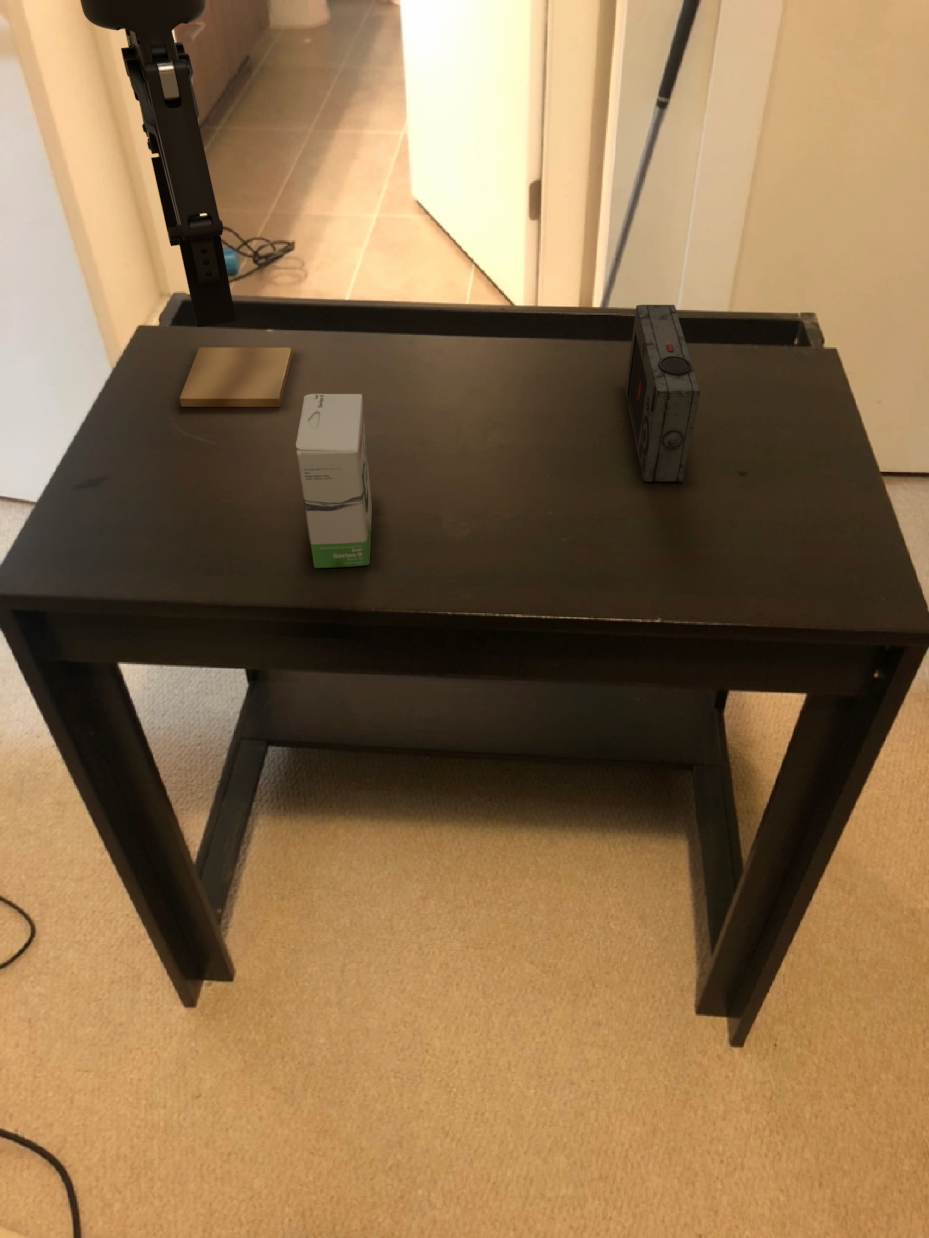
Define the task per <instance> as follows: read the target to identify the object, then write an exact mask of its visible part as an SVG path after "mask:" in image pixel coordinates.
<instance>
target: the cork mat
mask: <svg viewBox="0 0 929 1238" xmlns="http://www.w3.org/2000/svg"><path fill="white" fill-rule="evenodd" d="M292 348H293V347H228V346H227V347H220V346H219V347H218V346H217V347H211V346H210V347H209V346H207V347H206V346H204V347H202V346H201V347H200V346H199V347H198V348H197V349H198V350H197V352H196V354H195V357H194V360H193V362H192V365H191V368H190V370H189V372H188V375H187V378H186V381H185V383H184V386H183V389H182V390H181V394H180V396H179V403H180V407H182V408H186V407H187V408H188V407H189V408H193V407H194V408H218V407H219V408H280V407H281V404H282V400H283V396H284V392H285V389H286V384H287V380H288V376H289V372H290V368H291V363H292V359H293V349H292Z"/></svg>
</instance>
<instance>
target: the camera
mask: <svg viewBox="0 0 929 1238" xmlns="http://www.w3.org/2000/svg"><path fill="white" fill-rule="evenodd" d="M634 313H635V314H634V320H633V321H634V322H633V329H632V335H631V342H630V351H629V359H628V367H627V375H626V380H625V381H626V382H625V389H624V393H625V397H626V403H627V408H628V412H629V417H630V423H631V426H632V427H631V428H632V433H633V437H634V442H635V448H636V452H637V458H638V462H639V467H640V472H641V477H642V482H644V483H645V482H646V483H683V482H684V478H685V474H686V473H685V472H686V469H687V468H686V467H687V461H688V457H689V452H690V447H691V441H692V437H693V433H694V432H693V431H694V428H695V427H694V426H695V423H696V422H695V421H696V416H697V410H698V405H699V401H700V397H701V396H700V395H701V390H700V387H699V386H700V385H699V384H698V382H699V381H698V379H697V376H696V373H695V370H694V369H695V368H694V366H693V362H692V358H691V356H690V353H689V352H690V351H689V348H688V346H687V343H686V339H685V335H684V332H683V329H682V326H681V321H680V319H679V315H678V312H677V308H676V305H675V304H638V305H636V306H635V312H634Z"/></svg>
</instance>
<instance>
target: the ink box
mask: <svg viewBox="0 0 929 1238" xmlns="http://www.w3.org/2000/svg"><path fill="white" fill-rule="evenodd" d="M363 404H364V403H363V394H362V393H308V394H306V395H304V396H303V401H302V408H301V413H300V419H299V424H298V430H297V436H296V440H295V448H296V459H297V464H298V471H299V477H300V484H301V491H302V497H303V504H304V511H305V517H306V524H307V531H308V538H309V544H310V545H309V546H310V550H311V556H312V563H313V567H314V568H315V569H327V568H328V569H329V568H347V567H348V568H349V567H362V566H363V567H364V566H369V565H370V562H371V560H370V559H371V541H372V538H371V537H372V519H373V518H372V515H373V509H372V508H373V503H372V493H371V479H370V470H369V461H368V459H369V458H368V449H367V448H368V447H367V438H366V437H367V436H366V425H365V415H364V405H363Z"/></svg>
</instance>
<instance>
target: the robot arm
mask: <svg viewBox="0 0 929 1238" xmlns="http://www.w3.org/2000/svg"><path fill="white" fill-rule="evenodd" d="M79 1H80V4H81V9H82V13H83V15H84V16H85V18H86V19H87V21H89V22H90V23H91V24H93V25H95V26H96V27H99V28H102V29H106V30H111V31H120V30H124V31H125V32H124V33H125V37H126V41H127V47H126V46H125V47H120V52H121V55H122V61H123V64H124V69H125V72H126V75H127V77H128V78H129V82H130V86H131V89H132V91H133V92H132V93H133V95H134V99H135V100H136V101H137V102H138V103H139V107H140V114H141V117H142V124H141V127H142V131H143V133H145V136H146V137H147V140H146V141H147V142H146V144H147V149H148V150H149V151H150V153H151V155H157V156H154V157H153V156H152V157H150V161H151V165H152V169H153V174H154V178H155V184H156V188H157V192H158V197H159V201H160V205H161V209H162V214H163V219H164V223H165V228H166V232H167V237H168V241H169V242H168V243H169V245H170V247H176V246H179V250H180V254H181V259H182V264H183V268H184V273H185V278H186V283H187V287H188V292H189V296H190V301H191V305H192V310H193V315H194V319H195V320H194V321H195V325H196V327H197V328H201V327H202V328H203V327H209V326H213V325H219V324H225V323H232V322H236V321H237V319H236V313H235V308H234V302H233V297H232V292H231V286H230V280H229V275H228V270H227V263H226V257H225V253H224V247H223V242H222V237H221V236H223V233H224V224H223V221H222V220H221V219H220V214H219V210H218V206H217V201H216V197H215V192H214V188H213V183H212V178H211V174H210V170H209V165H208V161H207V155H206V152H205V147H204V142H203V138H202V134H201V130H200V111H199V108H198V103H197V100H196V95H195V91H194V87H193V85H194V70H193V66H192V61H191V58H190V54H189V52H186V50H185V45H184V42H183V41H177V42H176V41H175V38H174V34H173V33H174V32H173V30H175V28H177V27H178V26H180V25H181V24H184V25H188V24H190V23H193V22H195V21H196V20H198V19H200V18H201V17H202V16H203V15H204V13H205V12H206V10H207V6H208V5H207V4H208V3H207V0H79Z"/></svg>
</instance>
